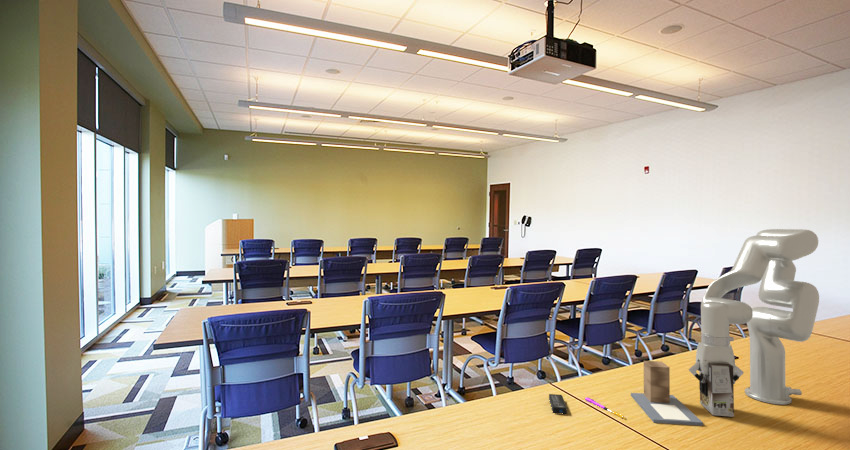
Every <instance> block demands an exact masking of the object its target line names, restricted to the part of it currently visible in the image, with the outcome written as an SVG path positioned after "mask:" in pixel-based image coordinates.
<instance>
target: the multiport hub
mask: <svg viewBox="0 0 850 450" xmlns="http://www.w3.org/2000/svg"><path fill="white" fill-rule="evenodd" d="M549 400H550V401H549ZM548 401H549V405H550V404H551V405H550V408H551V407H552V408H551V411H553V412H552V414H553V413H563V414H562V415H565V414H567V415H568V407H567V405H566V402H565V399H564V397H563V394H553V393H552V394H551V393H549V394H548Z"/></svg>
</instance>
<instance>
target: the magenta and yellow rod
mask: <svg viewBox="0 0 850 450" xmlns="http://www.w3.org/2000/svg"><path fill="white" fill-rule="evenodd" d="M594 400H595V399H592V398H590V397H585V401H586V402H588V403H590V404H592V403H593V404H592V405H594V406H596V405H597V406H596V407H598V406H599V407H598V408H600V407H601V408H600V409H602V408H603V410H605V411H608V412H611V413H612V415H614V416H617V417H619V418H620V419H624V420H627V418H626V417H625V416H624V415H622V414H620V413H618V412H617V411H615V410H613V411H612V410H610V409H609V408H608V407H606V406H604V405H603V404H601V403H599V402H597V401H596V400H595V401H594Z"/></svg>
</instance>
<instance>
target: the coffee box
mask: <svg viewBox="0 0 850 450" xmlns="http://www.w3.org/2000/svg"><path fill="white" fill-rule="evenodd" d="M700 372H701V371H698V374H700ZM706 383H707V384H708V395H707V396H705V395H704V394H703V393H701V391H700V390H699V403H700V405H701V406H703V407H704V408H705V410H707V411H708V412H709V414H711V415H712V416H719V417H721V416H722V417H733V418H734V417H735V398H734V397H735V396H734V395H735V394H734V389H735V388H734V386H735V384H733V383H734V382H733V366H732V365H731V364H709V372H708V375H707V381H706Z"/></svg>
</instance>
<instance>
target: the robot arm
mask: <svg viewBox="0 0 850 450" xmlns="http://www.w3.org/2000/svg"><path fill="white" fill-rule="evenodd" d="M741 246H742V247H741V248H740V251H739V253H738V255H737V257H736V260H735V262H734V264H733V266H732V268H731V269H730V270H729V271H728V272H726V273H724V274H723V275H721V276H719V277H718V278H716V279H715V280H714V281H712V282H711V283H710V284H709V285H708V287H706V291H705V293H704V295H703V297H702V299H701V302H700V322H701V323H700V327H701V328H700V332H701V333H700V334H701V335H700V336H701V337H700V339H701V341H699V342H698V344H697V347H696V353H695V363H694V364H693V365H692V366H691V367H689V369H688V371H689V372H690V373H691V374H692V375H693V376H694V378H695V379H697V380H698V382H699V383H698V384H699V386H698V387H699V392H700V391H701V393H703V394H704V395H705V396H707V395H708V384H707V383H706V381H707V375H708V372H709V364H731V365H732V366H733V382H734V383H733V384H734V385H735V384H736V382H737V381H738V380H739V378H740V377H742V375H744V373H745V372H744V371H743V370H742V369H740V367H738V366H737V365H736V361H735V360H736V359H735V355H734V354H735V352H734V350H733V346H732V345H731V342H734V337H733V336H730V325H744V324H746V326H747V330H748V334H749V336H748V337H749V372H750V374H749V376H750V377H749V381H750V382H749V387H746V388H745V389H744V394H745V395H746V396H748V397H749V398H752V399H754V400H756V401H760V402H763V403H768V404H772V405H783V406H784V405H789V404H791V403H793V402H792V397H791V396H792V395H795V396H802V394H803V393H802V390H801V389H800V388H792V387H791V386H787V385H786V349H785V346H784V344H783V343H782V341H781V339H783V340H784V339H785V340H789V341H793V342H799V343H800V342H801V343H804V342H805V341H808V340H809V339H810V338H811V335H812V333H813V331H814V326H815V325H814V324H815V322H816V317H817V313H818V308H819V304H820V294H819V290H818V288H817V287H816V286H815V285H813V283H811V282H807V281H806V282H805V281H799V280H795V278H796V272H797V268H796V265H795V263H794V262H793V261H796V260H799V259H801V258H803V257H804V258H805V257H807V256H809V255H811V254H813V253H814V252H815V251H816V250H817V248H818V246H819V237H818V236H817V234H816V233H815V232H814V231H813V230H810V229H802V228H801V229H800V228H799V229H798V228H797V229H795V228H794V229H792V228H789V229H786V228H785V229H784V228H782V229H781V228H769V229H763V230H760V231H758V232H757V233H756V235H752V236H749V237H748V238H746V239H745V240H744V242H743V244H742V245H741ZM758 283H760V286H759V288H758V289H759V290H758V298H759V300H760V301H761V302H762V303H764V304H766V305H770V306H775V307H781V308H786V309H787V308H788V309H792V311H791V310H784V309H778V308H774V307H773V308H772V307H766V306H756V307H755V306H754V307H751V306H750V305H749V304H748V303H746V302H744V301H740V300H734V299H729V298H723V297H724V295H726V294H727V293H729V292H731V291H733V290H736V289H740V288H742V287H743V288H744V287H747V286H751V285H755V284H758ZM697 371H698V372H697ZM699 371H701V372H700V374H699Z"/></svg>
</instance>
